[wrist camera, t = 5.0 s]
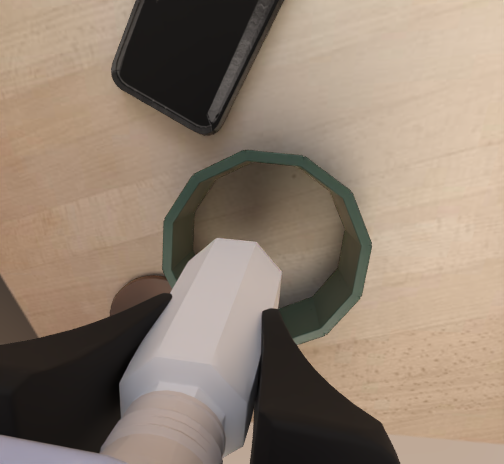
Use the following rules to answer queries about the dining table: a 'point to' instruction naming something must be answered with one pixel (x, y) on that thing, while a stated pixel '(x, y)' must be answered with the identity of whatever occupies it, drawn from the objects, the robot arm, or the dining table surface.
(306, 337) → the green polygonal ring
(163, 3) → the phone
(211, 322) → the salt shaker
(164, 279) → the coaster
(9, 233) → the dining table surface
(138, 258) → the dining table surface
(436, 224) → the dining table surface
